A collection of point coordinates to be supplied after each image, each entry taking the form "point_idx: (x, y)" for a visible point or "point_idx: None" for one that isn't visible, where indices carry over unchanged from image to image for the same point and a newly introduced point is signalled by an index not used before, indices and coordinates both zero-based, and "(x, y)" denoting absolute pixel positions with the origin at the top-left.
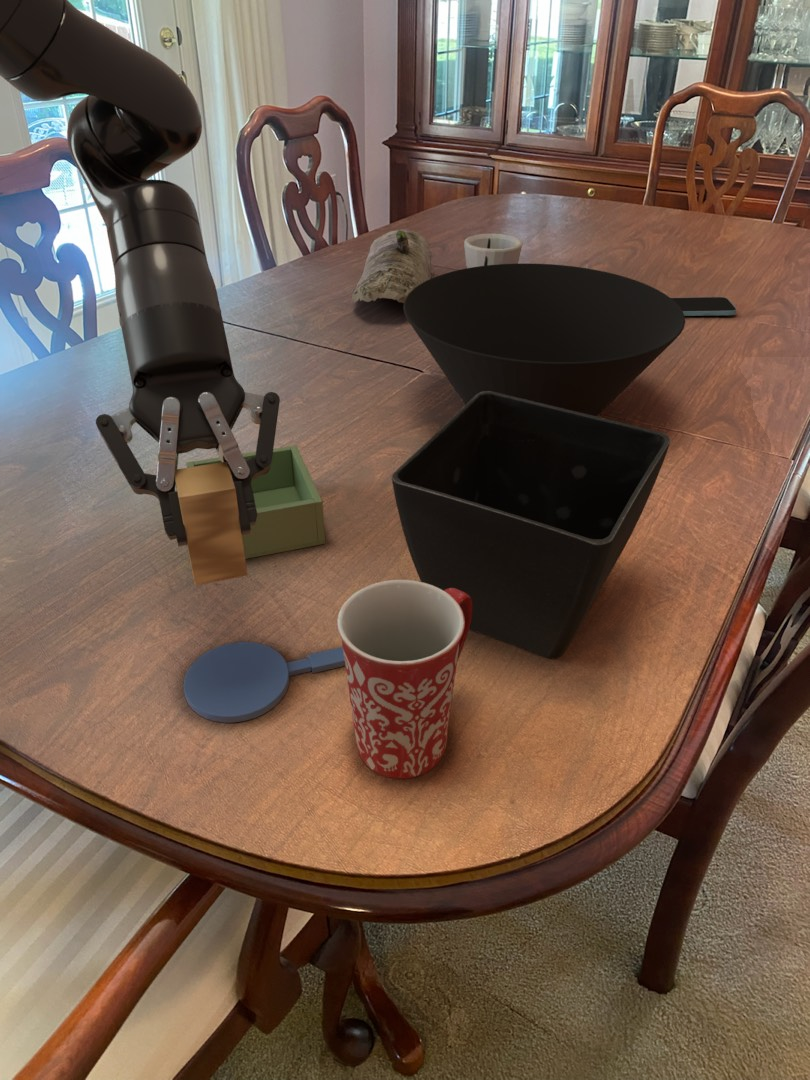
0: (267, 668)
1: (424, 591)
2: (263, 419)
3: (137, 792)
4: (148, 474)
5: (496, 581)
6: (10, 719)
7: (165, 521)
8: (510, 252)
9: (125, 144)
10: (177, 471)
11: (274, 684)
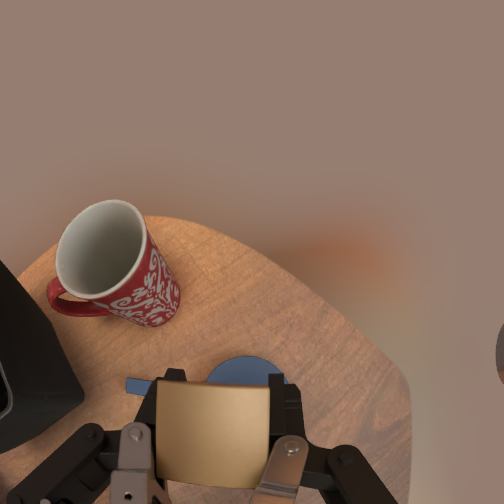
0: None
1: (65, 278)
2: (49, 486)
3: (329, 315)
4: (320, 473)
5: (30, 327)
6: (410, 399)
7: (297, 402)
8: None
9: None
10: (259, 480)
11: (218, 378)
